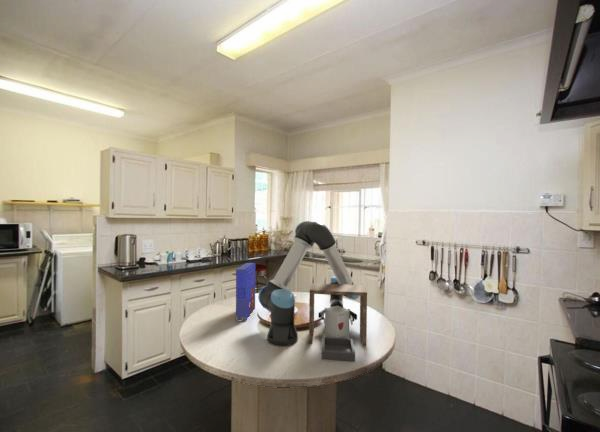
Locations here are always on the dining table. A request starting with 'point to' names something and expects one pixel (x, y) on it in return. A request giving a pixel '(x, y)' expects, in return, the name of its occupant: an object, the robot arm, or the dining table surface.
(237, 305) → the cereal box
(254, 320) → the dining table surface
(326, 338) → the tray
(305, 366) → the dining table surface
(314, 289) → the tunnel
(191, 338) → the dining table surface
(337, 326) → the supplement box
